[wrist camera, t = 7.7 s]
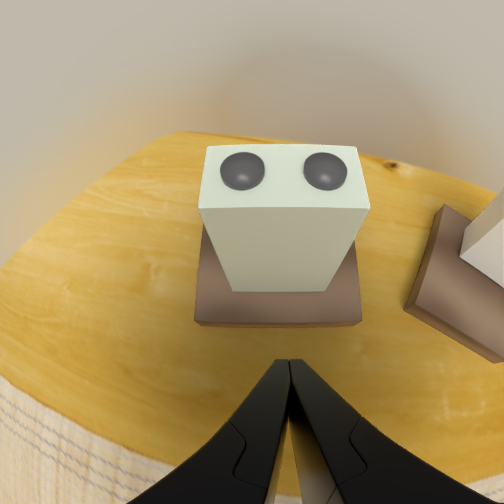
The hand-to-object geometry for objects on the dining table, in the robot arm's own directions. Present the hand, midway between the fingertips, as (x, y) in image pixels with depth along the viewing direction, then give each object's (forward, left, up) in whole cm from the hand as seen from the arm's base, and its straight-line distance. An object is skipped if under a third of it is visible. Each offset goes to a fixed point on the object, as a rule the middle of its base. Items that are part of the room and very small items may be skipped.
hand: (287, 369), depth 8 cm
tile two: (+5, +5, -9) cm, 11 cm away
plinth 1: (+6, +6, -11) cm, 14 cm away
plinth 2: (+16, -8, -11) cm, 21 cm away
